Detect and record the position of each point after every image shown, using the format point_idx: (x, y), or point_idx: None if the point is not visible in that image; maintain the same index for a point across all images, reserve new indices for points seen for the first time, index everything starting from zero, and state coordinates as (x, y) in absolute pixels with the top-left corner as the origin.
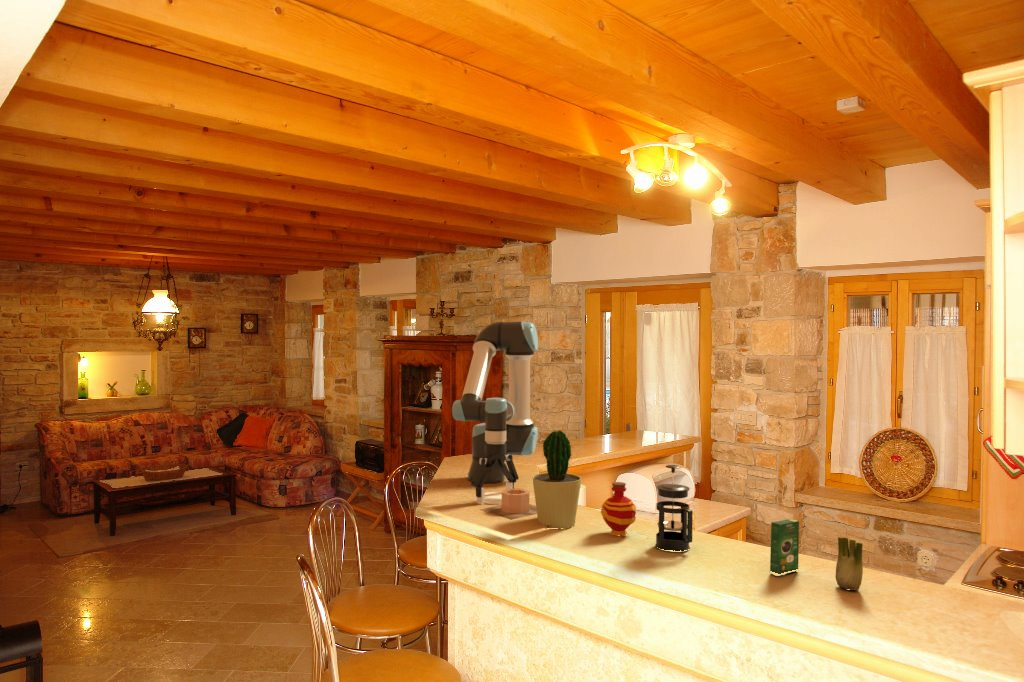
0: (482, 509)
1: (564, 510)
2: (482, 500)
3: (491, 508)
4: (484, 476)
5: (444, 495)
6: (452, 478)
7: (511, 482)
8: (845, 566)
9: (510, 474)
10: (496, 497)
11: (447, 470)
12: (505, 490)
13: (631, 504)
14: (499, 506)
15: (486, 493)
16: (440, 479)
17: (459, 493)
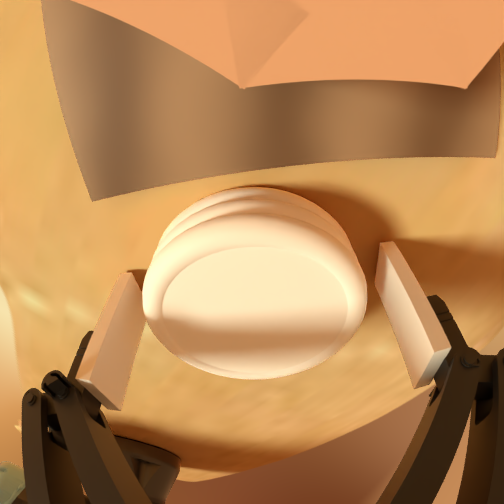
0: (484, 145)
1: None
2: (408, 272)
3: (431, 122)
4: (451, 458)
5: (337, 422)
6: (208, 470)
7: (84, 387)
8: None
9: (76, 452)
10: (293, 269)
11: (190, 481)
12: (441, 34)
13: None
14: (342, 131)
15: (278, 370)
16: (237, 472)
17: (279, 426)
